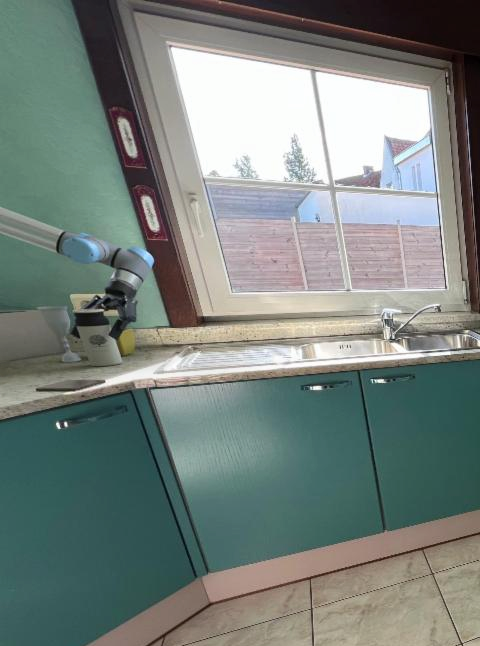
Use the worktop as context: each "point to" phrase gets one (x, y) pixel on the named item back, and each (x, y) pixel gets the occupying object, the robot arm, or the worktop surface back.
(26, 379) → the worktop surface
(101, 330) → the travel mug
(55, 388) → the coaster
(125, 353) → the flower pot
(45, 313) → the chalice
